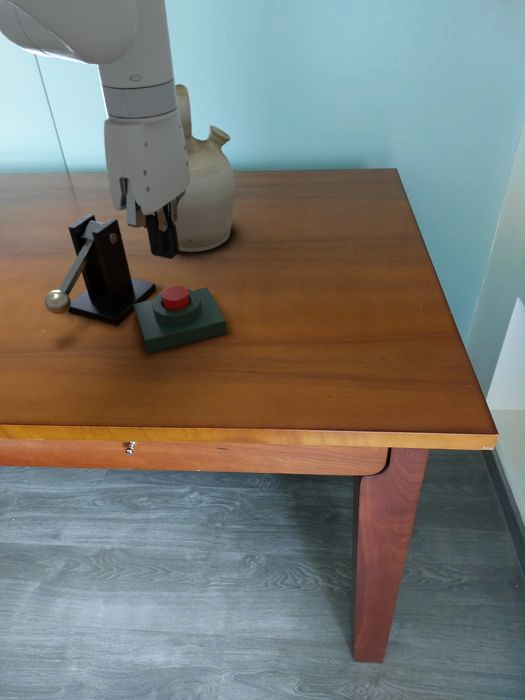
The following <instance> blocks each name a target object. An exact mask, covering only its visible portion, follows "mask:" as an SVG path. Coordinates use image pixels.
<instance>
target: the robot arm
mask: <svg viewBox="0 0 525 700" xmlns="http://www.w3.org/2000/svg"><path fill="white" fill-rule="evenodd" d="M166 7H167V6H166V1H165V0H0V33H1V35H3V36H4V37H5V38H6V39H7V40H8V41H9V42H11V43H12V44H14V45H15V46H16V47H18V48H20V49H22V50H24V51H26V52H28V53H31V54H34V55H38V56H43V57H48V58H52V59H60V60H66V61H72V62H77V63H81V64H86V65H90V66H96V68H97V73H98V78H99V82H100V88H101V92H102V97H103V102H104V107H105V112H106V117H107V118H106V119H105V120H103V145H104V157H105V165H106V172H107V173H106V174H107V180H108V184H109V190H110V197H111V200H112V205H113V207H114V209H115V210H116V211H124V210H126V224H127V226H128V227H131V228H137V229H139V228H144V229H146V230H147V231H146V232H147V236H148V243H149V247H150V253H151V254H152V255H153V256H156V257H160V258H163V259H170V260H172V259H174V258H175V256H177V255H178V254H179V253H180V251H179V245H178V238H177V231H176V225H174V224H173V223H176V222H177V219H178V215H177V206H178V203H179V201H180V199H181V198H182V197H183V196H184V194H185V190H186V189H187V187H188V186H189V183H190V172H189V162H188V154H187V148H186V142H185V137H184V132H183V128H182V123H181V119H180V115H179V112H178V106H177V97H176V89H175V85H176V80H175V74H174V66H173V57H172V48H171V40H170V31H169V25H168V23H169V22H168V16H167V9H166ZM153 214H154V215H153Z"/></svg>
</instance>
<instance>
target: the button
mask: <svg viewBox="0 0 525 700" xmlns="http://www.w3.org/2000/svg"><path fill="white" fill-rule="evenodd" d="M187 289H188V288H186V287H184V286H182V285H173V286H169V287H166V288H165V289H164V290H163V291H162V292H161V293H162V300H163V305H164V308H165V309H167V310H174V311H176V310H180V309H184V308H186V307H187V306H189V304H190V300H189V293H188V290H187Z"/></svg>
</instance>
